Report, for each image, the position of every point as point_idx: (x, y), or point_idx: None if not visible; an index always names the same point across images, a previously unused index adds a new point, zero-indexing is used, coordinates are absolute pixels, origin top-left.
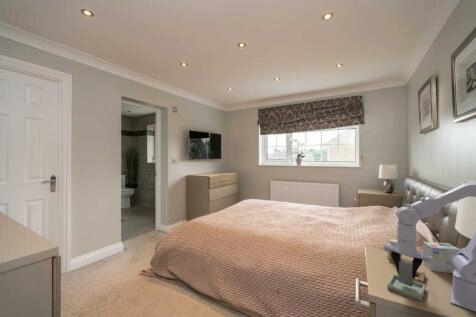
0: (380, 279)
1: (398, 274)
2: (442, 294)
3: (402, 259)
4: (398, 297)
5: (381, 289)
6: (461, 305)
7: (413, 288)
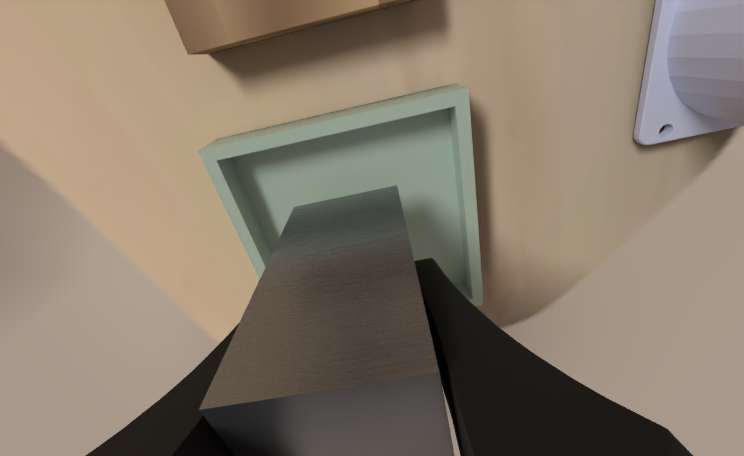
0: (193, 246)
1: (202, 52)
2: (582, 35)
3: (263, 447)
4: None
5: None
6: (705, 132)
7: (399, 193)
